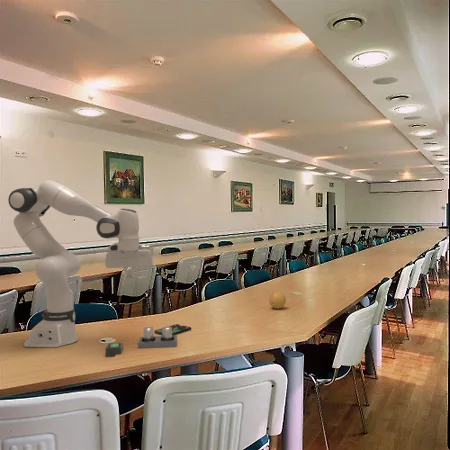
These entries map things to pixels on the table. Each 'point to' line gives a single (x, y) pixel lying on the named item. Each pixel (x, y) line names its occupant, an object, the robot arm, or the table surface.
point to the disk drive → (174, 330)
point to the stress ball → (277, 300)
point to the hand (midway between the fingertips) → (129, 277)
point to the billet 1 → (148, 334)
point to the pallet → (157, 342)
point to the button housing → (114, 349)
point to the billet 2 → (167, 333)
